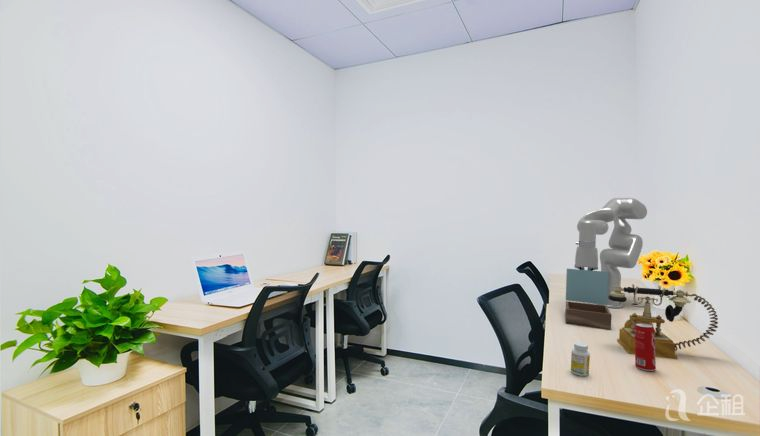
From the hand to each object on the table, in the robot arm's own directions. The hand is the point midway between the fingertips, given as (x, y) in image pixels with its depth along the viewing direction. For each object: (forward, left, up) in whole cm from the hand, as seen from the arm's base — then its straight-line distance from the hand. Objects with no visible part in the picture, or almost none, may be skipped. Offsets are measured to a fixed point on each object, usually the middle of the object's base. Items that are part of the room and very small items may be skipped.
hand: (585, 280), depth 193 cm
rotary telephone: (+19, +43, -17) cm, 50 cm away
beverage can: (+42, +51, -17) cm, 68 cm away
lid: (+5, +4, -2) cm, 7 cm away
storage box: (+13, +10, -17) cm, 23 cm away
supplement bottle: (+66, +44, -17) cm, 81 cm away
